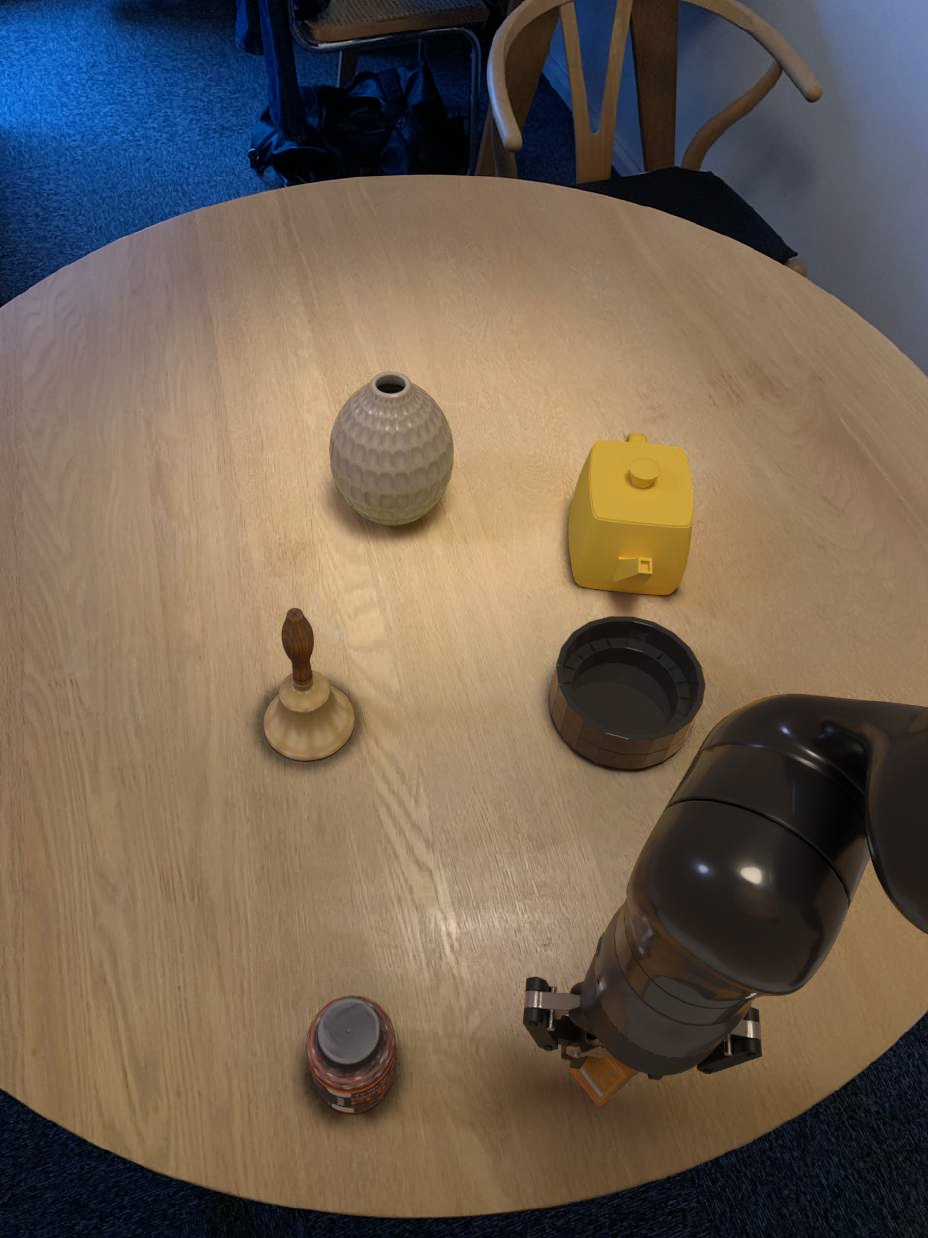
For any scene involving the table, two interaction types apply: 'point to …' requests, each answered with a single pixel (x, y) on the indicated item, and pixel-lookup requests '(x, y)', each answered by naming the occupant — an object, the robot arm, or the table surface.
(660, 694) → the bowl
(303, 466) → the table surface
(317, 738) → the hand bell
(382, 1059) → the supplement bottle
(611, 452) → the teapot
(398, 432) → the vase
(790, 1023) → the table surface
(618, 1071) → the supplement box
